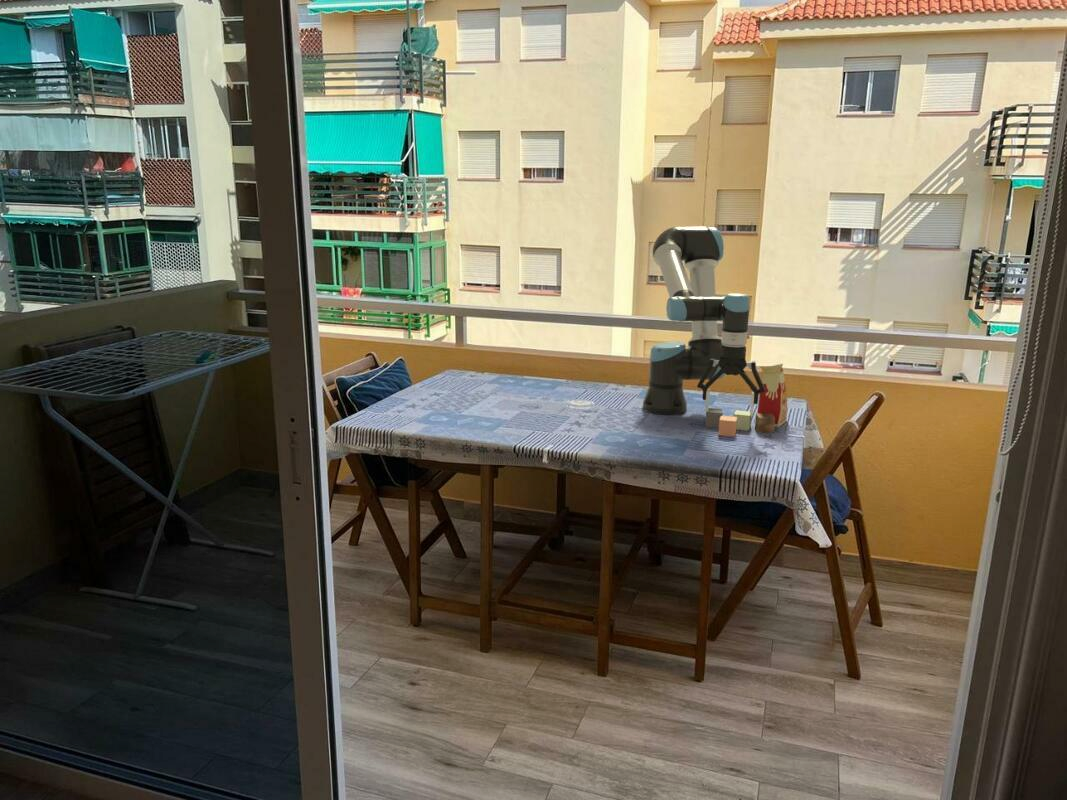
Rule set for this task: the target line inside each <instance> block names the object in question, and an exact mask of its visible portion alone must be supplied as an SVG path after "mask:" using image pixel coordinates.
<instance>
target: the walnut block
mask: <svg viewBox="0 0 1067 800" xmlns="http://www.w3.org/2000/svg"><path fill="white" fill-rule="evenodd" d="M755 419H756V421H755V422H754V429H755V431H756V430H757V431H756V432H757V433H758V432H761V433H762V434H774V433H775V427H776V426H775V417H774V416H773V414H761V413H757V412H756V413H755ZM761 433H760V434H761Z"/></svg>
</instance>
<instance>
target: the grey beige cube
mask: <svg viewBox="0 0 1067 800" xmlns="http://www.w3.org/2000/svg"><path fill="white" fill-rule="evenodd" d="M723 414H724V413H723V409H722V408H712V407H711V408H709V409H708V411H705V421H704V423H705V427H706V428H719V420H720V417H721V416H724V415H723Z"/></svg>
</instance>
